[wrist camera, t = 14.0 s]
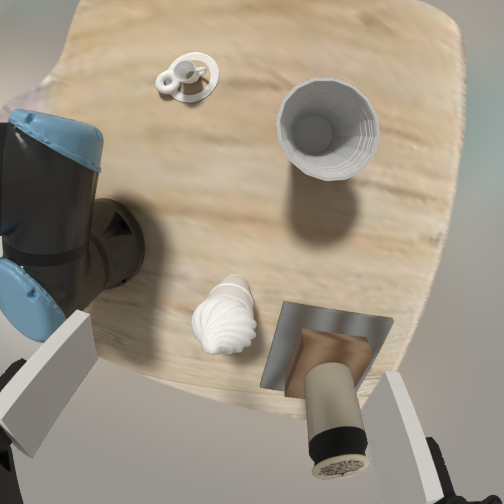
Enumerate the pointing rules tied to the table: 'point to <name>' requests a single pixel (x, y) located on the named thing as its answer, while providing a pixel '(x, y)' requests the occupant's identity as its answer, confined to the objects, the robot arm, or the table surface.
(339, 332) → the base
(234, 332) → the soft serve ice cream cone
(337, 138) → the plastic cup
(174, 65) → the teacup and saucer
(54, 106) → the table surface
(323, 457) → the travel mug
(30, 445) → the robot arm
